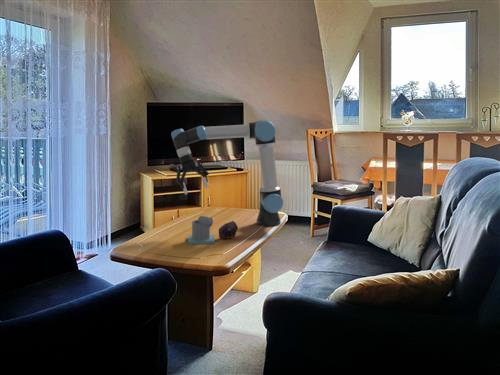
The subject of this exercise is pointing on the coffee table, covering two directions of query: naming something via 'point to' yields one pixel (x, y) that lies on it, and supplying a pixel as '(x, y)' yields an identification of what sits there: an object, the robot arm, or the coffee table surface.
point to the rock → (228, 230)
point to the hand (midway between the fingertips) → (197, 191)
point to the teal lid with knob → (209, 241)
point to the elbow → (201, 228)
